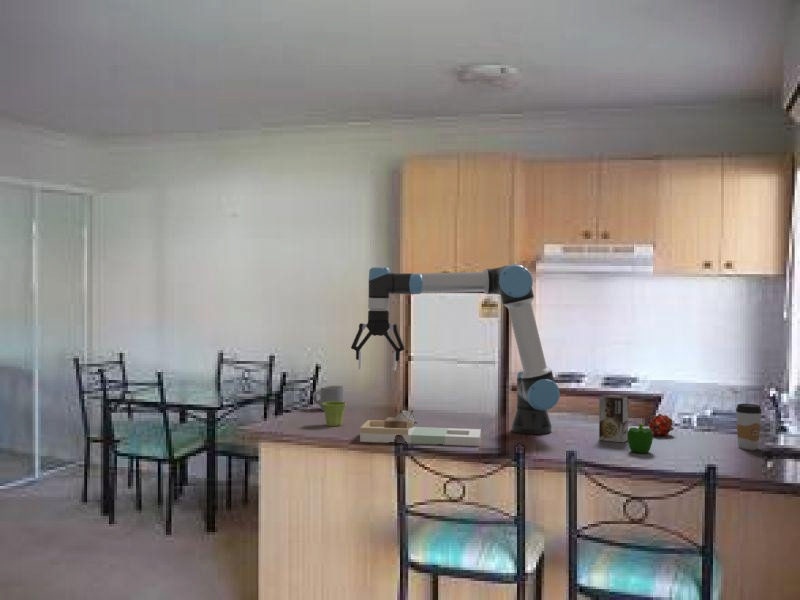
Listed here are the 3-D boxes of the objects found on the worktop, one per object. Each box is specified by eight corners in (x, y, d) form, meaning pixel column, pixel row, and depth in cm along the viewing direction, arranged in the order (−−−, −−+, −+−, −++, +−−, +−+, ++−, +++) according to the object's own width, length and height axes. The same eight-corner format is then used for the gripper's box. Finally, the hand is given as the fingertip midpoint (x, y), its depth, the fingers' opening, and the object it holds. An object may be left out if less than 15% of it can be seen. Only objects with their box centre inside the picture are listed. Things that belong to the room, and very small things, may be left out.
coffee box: (628, 440, 291) (629, 396, 291) (622, 443, 286) (623, 398, 286) (604, 437, 296) (605, 393, 296) (598, 440, 291) (598, 395, 291)
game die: (403, 441, 304) (392, 421, 300) (397, 429, 312) (387, 410, 307) (423, 429, 304) (413, 410, 300) (418, 418, 312) (407, 399, 308)
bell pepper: (628, 448, 276) (628, 419, 276) (653, 450, 273) (653, 421, 273) (625, 453, 268) (626, 423, 268) (651, 455, 265) (652, 425, 265)
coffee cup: (746, 451, 274) (747, 407, 274) (729, 446, 282) (730, 403, 282) (766, 449, 277) (767, 406, 276) (749, 445, 285) (750, 403, 284)
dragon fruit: (668, 437, 307) (657, 446, 297) (649, 422, 310) (639, 431, 301) (680, 421, 303) (670, 430, 293) (662, 406, 306) (651, 415, 297)
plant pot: (343, 427, 310) (343, 405, 310) (319, 426, 312) (319, 404, 311) (348, 423, 319) (348, 401, 319) (325, 422, 321) (325, 401, 321)
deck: (480, 437, 293) (480, 423, 293) (479, 446, 277) (479, 431, 277) (367, 433, 299) (367, 420, 299) (360, 441, 283) (360, 427, 283)
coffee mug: (346, 408, 359) (346, 386, 358) (338, 411, 349) (338, 388, 349) (318, 406, 362) (318, 384, 362) (310, 410, 353) (310, 387, 353)
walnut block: (409, 428, 293) (409, 417, 292) (406, 432, 285) (406, 421, 285) (387, 428, 294) (387, 417, 293) (384, 431, 286) (384, 420, 286)
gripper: (413, 310, 292) (411, 369, 292) (347, 309, 295) (346, 367, 295) (410, 311, 284) (409, 371, 285) (343, 309, 288) (342, 369, 288)
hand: (377, 369), depth 290 cm, fingers open, 12 cm apart
